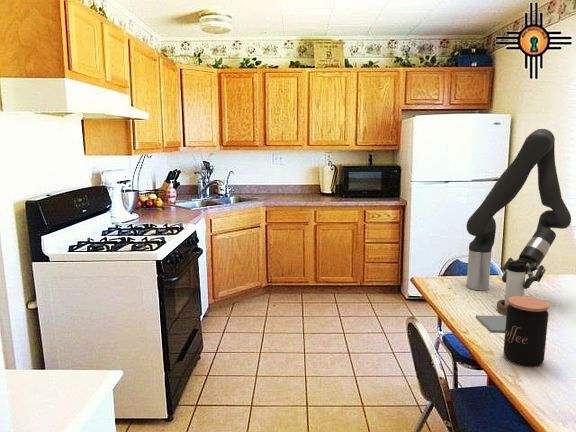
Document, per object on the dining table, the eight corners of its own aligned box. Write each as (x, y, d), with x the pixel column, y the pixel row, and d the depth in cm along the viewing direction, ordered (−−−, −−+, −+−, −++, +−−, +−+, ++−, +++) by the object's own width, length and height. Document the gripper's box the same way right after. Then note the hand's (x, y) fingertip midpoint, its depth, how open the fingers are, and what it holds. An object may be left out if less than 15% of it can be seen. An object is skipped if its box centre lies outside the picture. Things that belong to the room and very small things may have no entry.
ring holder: (491, 306, 171) (492, 299, 170) (520, 306, 170) (521, 299, 170) (505, 317, 159) (506, 310, 159) (536, 318, 159) (537, 310, 159)
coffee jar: (496, 351, 134) (500, 296, 131) (528, 349, 134) (533, 295, 132) (516, 369, 123) (522, 309, 120) (552, 367, 124) (558, 307, 121)
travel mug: (525, 315, 161) (530, 264, 158) (506, 314, 162) (510, 263, 159) (520, 309, 167) (524, 260, 164) (501, 308, 169) (505, 259, 165)
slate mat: (475, 317, 160) (475, 315, 160) (511, 317, 160) (511, 315, 159) (490, 332, 147) (491, 330, 147) (529, 332, 147) (529, 330, 147)
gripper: (513, 242, 170) (492, 274, 167) (549, 249, 158) (528, 284, 155) (521, 253, 174) (500, 285, 170) (556, 261, 161) (535, 295, 158)
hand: (513, 284), depth 162 cm, fingers open, 8 cm apart
